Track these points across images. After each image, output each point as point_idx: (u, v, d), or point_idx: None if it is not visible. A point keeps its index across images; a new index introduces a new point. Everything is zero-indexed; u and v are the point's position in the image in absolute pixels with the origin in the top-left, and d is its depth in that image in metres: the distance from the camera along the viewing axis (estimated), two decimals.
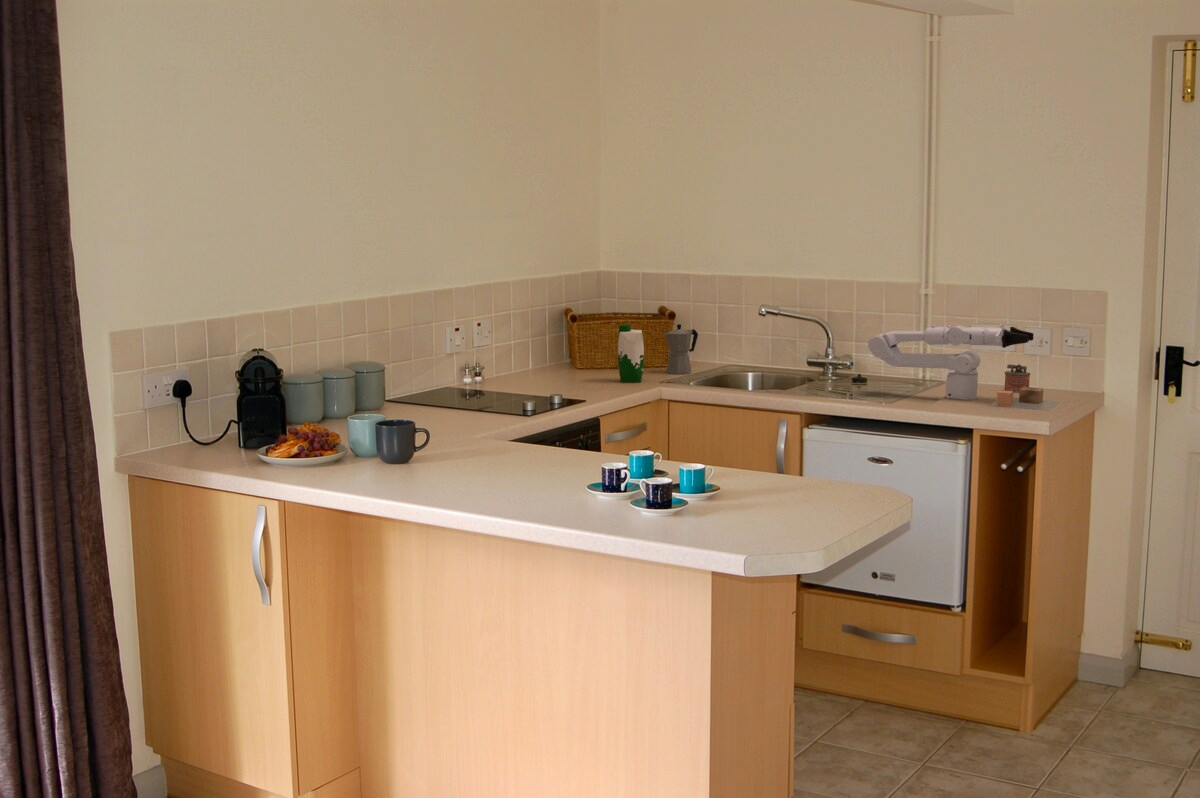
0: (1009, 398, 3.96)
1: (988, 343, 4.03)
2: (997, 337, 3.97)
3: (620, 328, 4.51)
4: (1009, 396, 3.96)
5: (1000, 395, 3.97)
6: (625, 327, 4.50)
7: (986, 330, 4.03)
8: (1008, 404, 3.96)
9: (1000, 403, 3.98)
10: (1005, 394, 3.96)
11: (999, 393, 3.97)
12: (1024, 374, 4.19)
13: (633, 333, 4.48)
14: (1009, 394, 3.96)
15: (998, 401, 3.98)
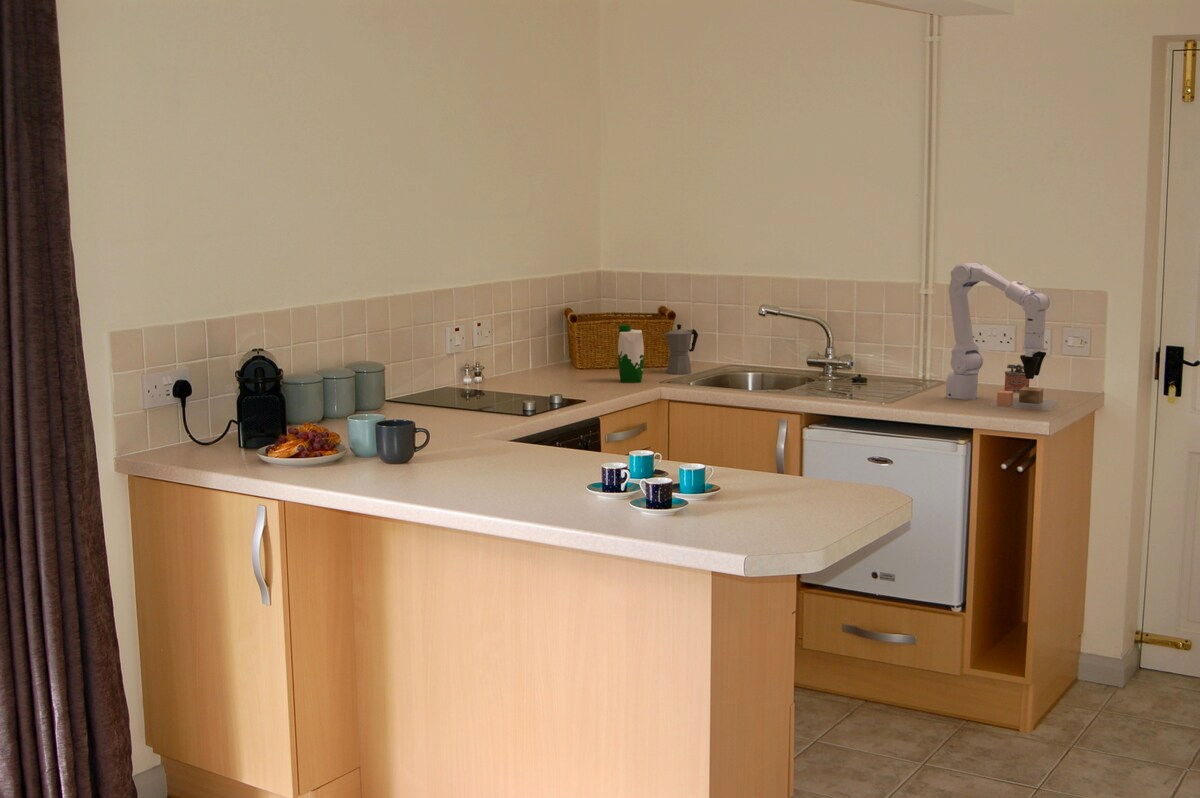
0: (1009, 398, 3.96)
1: (1026, 337, 3.90)
2: (1030, 353, 3.85)
3: (620, 328, 4.51)
4: (1009, 396, 3.96)
5: (1000, 395, 3.97)
6: (625, 327, 4.50)
7: (1040, 335, 3.88)
8: (1008, 404, 3.96)
9: (1000, 403, 3.98)
10: (1005, 394, 3.96)
11: (999, 393, 3.97)
12: (1024, 374, 4.19)
13: (633, 333, 4.48)
14: (1009, 394, 3.96)
15: (998, 401, 3.98)
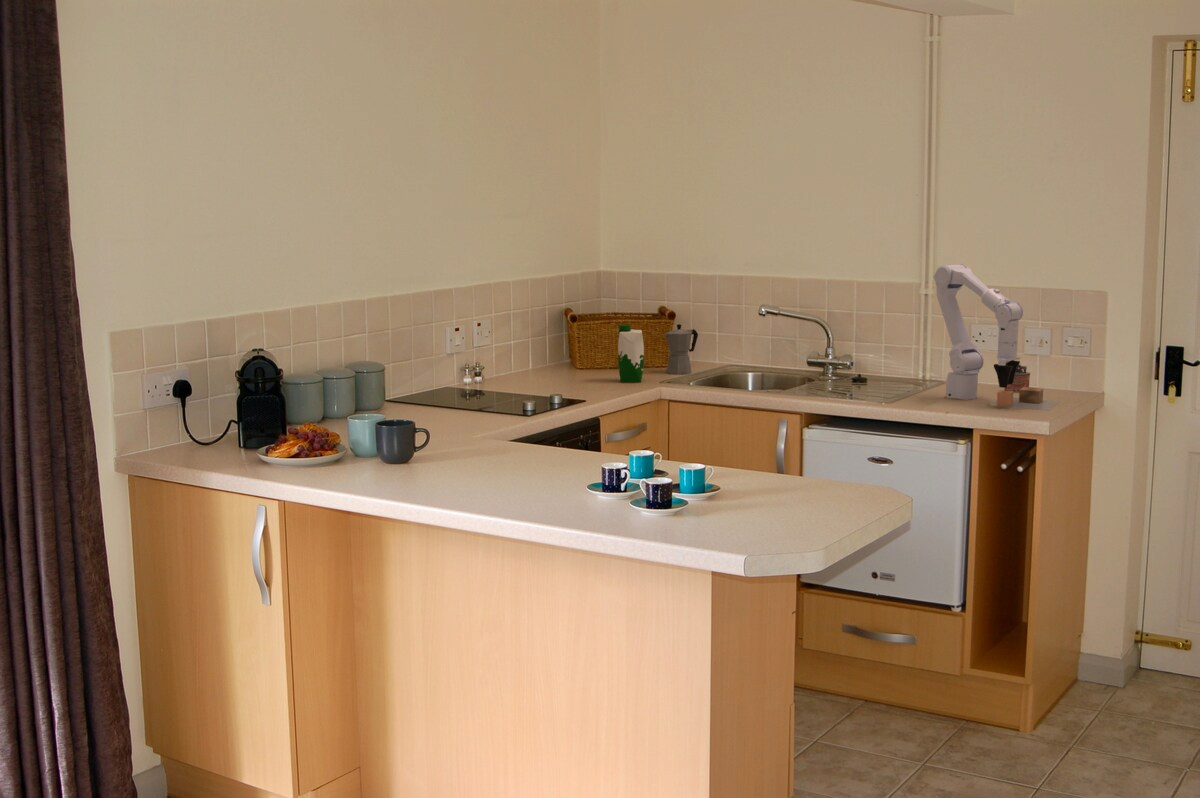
0: (1009, 398, 3.96)
1: (999, 346, 3.95)
2: (1003, 362, 3.90)
3: (620, 328, 4.51)
4: (1009, 396, 3.96)
5: (1000, 395, 3.97)
6: (625, 327, 4.50)
7: (1013, 344, 3.93)
8: (1008, 404, 3.96)
9: (1000, 403, 3.98)
10: (1005, 394, 3.96)
11: (999, 393, 3.97)
12: (1024, 374, 4.19)
13: (633, 333, 4.48)
14: (1009, 394, 3.96)
15: (998, 401, 3.98)
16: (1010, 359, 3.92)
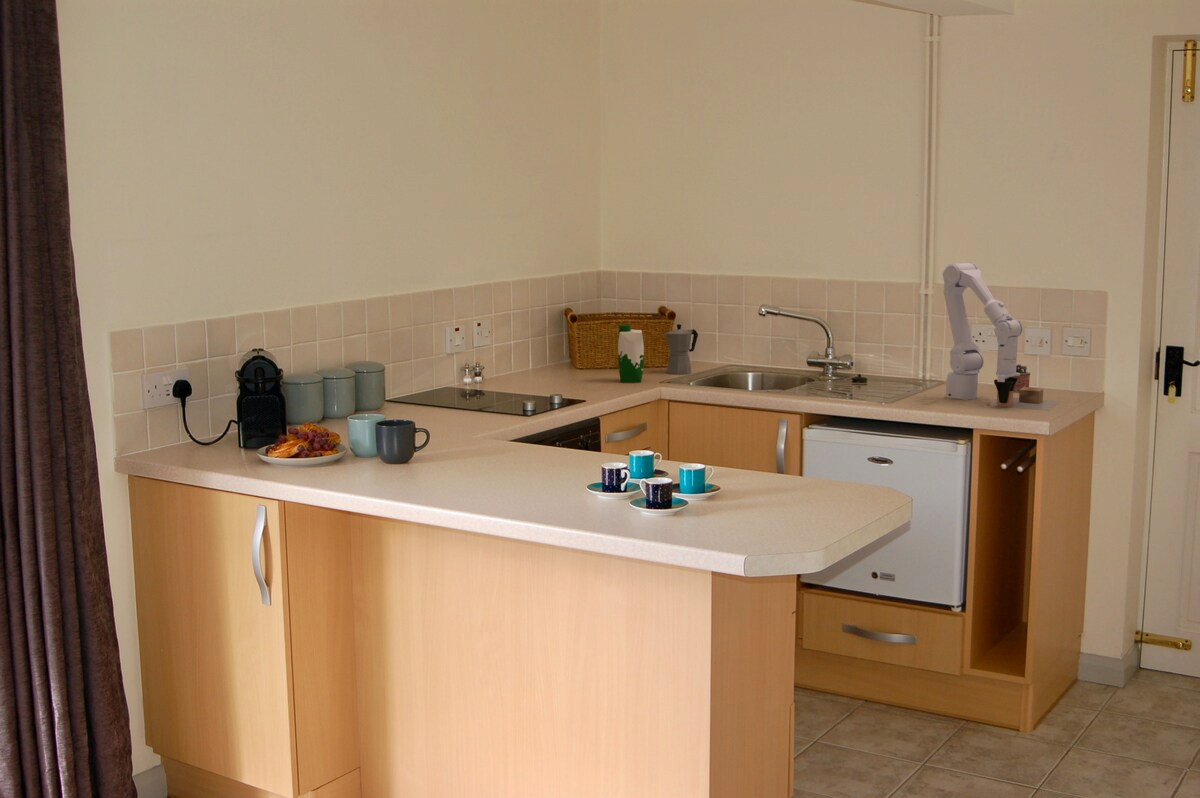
0: (1009, 398, 3.96)
1: (998, 362, 3.96)
2: (1002, 378, 3.91)
3: (620, 328, 4.51)
4: (1009, 396, 3.96)
5: None
6: (625, 327, 4.50)
7: (1012, 361, 3.94)
8: (1008, 404, 3.96)
9: (1000, 403, 3.98)
10: None
11: None
12: (1024, 374, 4.19)
13: (633, 333, 4.48)
14: (1009, 394, 3.96)
15: (998, 401, 3.98)
16: (1009, 375, 3.93)
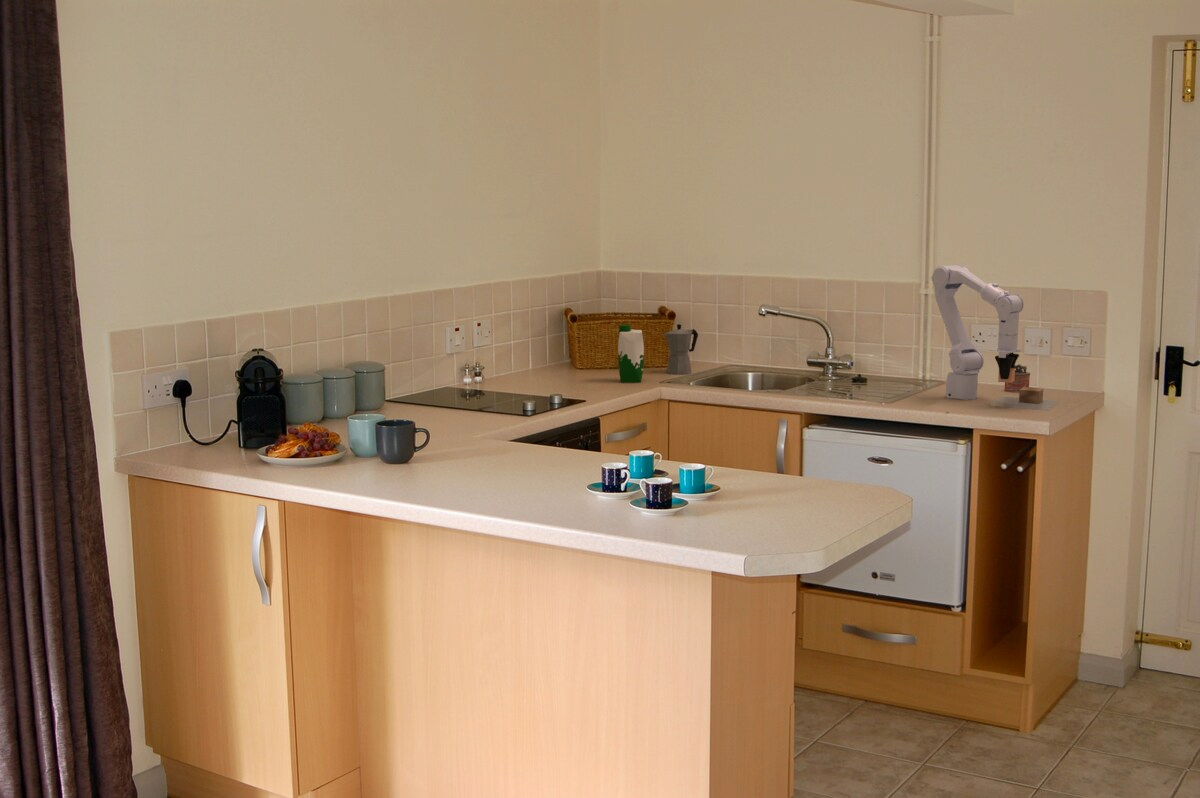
0: (1011, 375, 3.95)
1: (999, 338, 3.95)
2: (1003, 354, 3.90)
3: (620, 328, 4.51)
4: (1011, 373, 3.95)
5: None
6: (625, 327, 4.50)
7: (1013, 337, 3.93)
8: (1010, 381, 3.95)
9: (1001, 380, 3.96)
10: None
11: None
12: (1024, 374, 4.19)
13: (633, 333, 4.48)
14: (1011, 371, 3.95)
15: (999, 378, 3.97)
16: (1010, 351, 3.92)
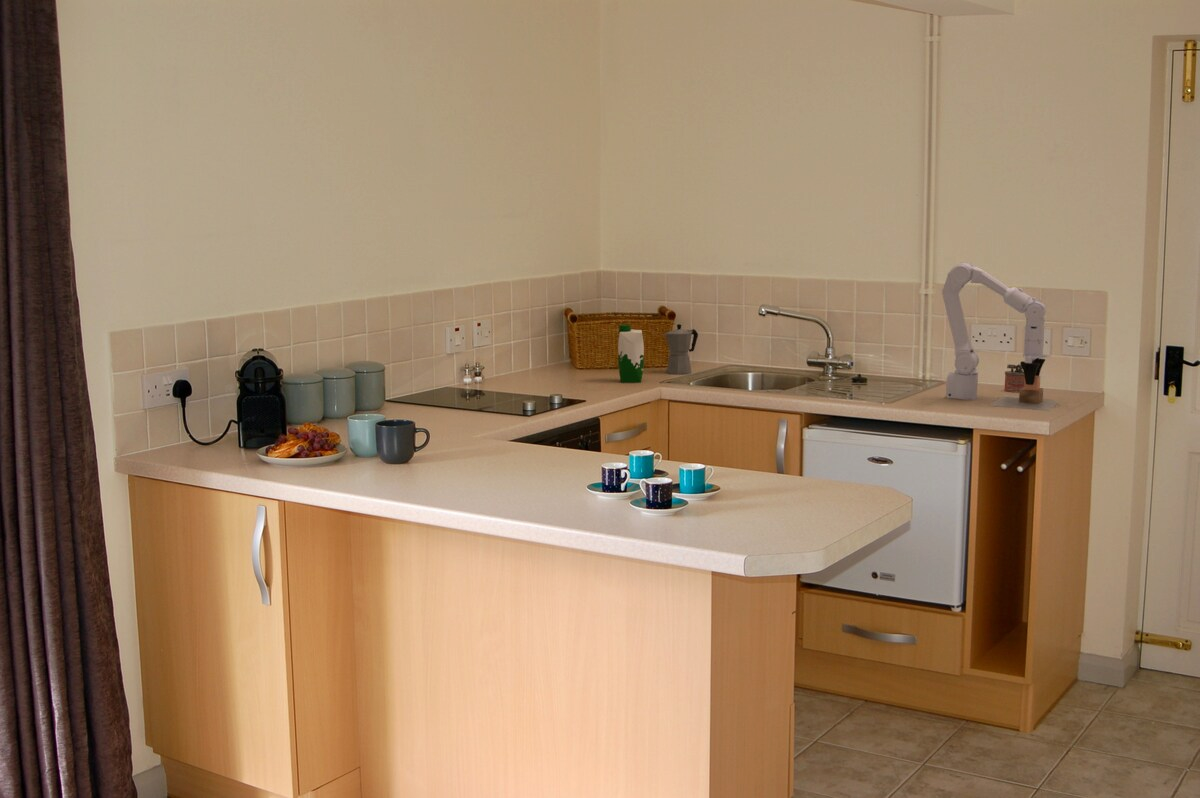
0: (1036, 382, 4.00)
1: (1025, 344, 4.00)
2: (1030, 359, 3.95)
3: (620, 328, 4.51)
4: (1036, 381, 4.00)
5: None
6: (625, 327, 4.50)
7: (1039, 342, 3.98)
8: (1035, 388, 4.00)
9: (1027, 388, 4.02)
10: None
11: None
12: None
13: (633, 333, 4.48)
14: (1036, 379, 4.00)
15: (1025, 386, 4.02)
16: (1036, 357, 3.97)
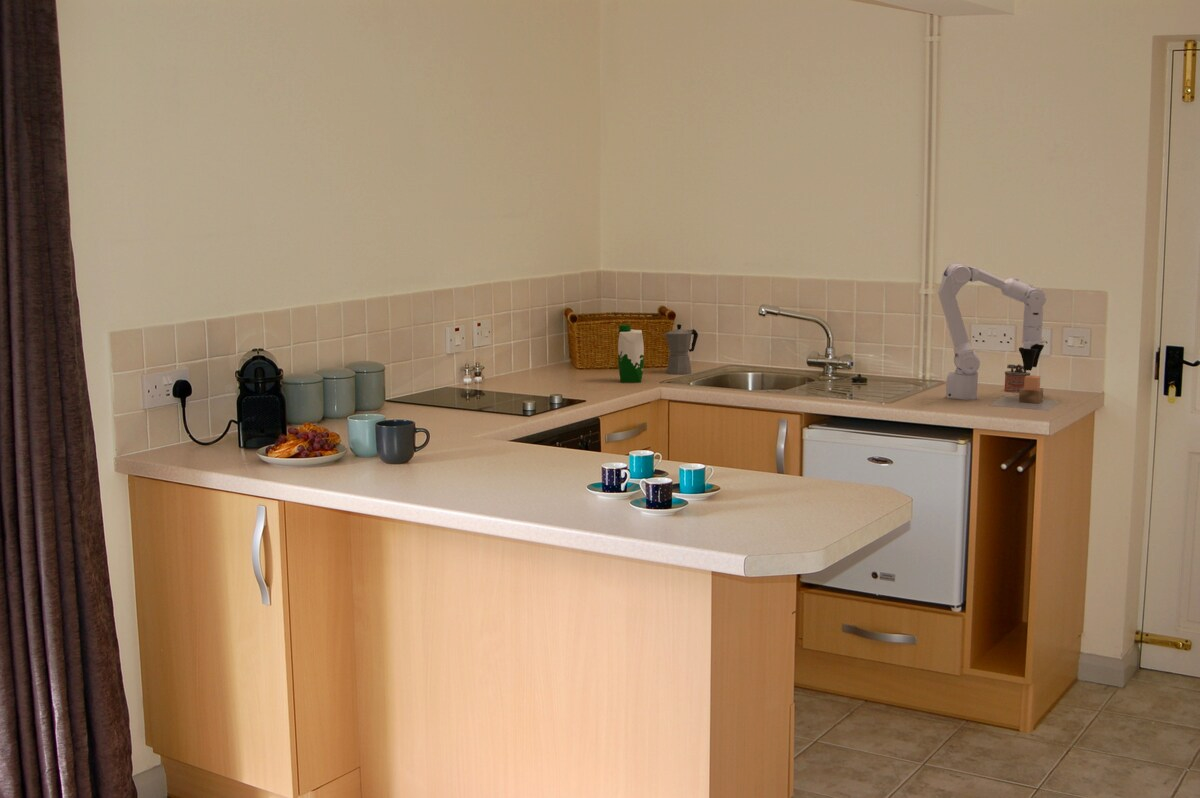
0: (1036, 382, 4.00)
1: (1024, 330, 4.06)
2: (1028, 345, 4.01)
3: (620, 328, 4.51)
4: (1036, 381, 4.00)
5: (1027, 380, 4.01)
6: (625, 327, 4.50)
7: (1038, 328, 4.04)
8: (1035, 388, 4.00)
9: (1027, 388, 4.02)
10: (1032, 379, 4.00)
11: (1026, 378, 4.01)
12: (1024, 374, 4.19)
13: (633, 333, 4.48)
14: (1036, 379, 4.00)
15: (1025, 386, 4.02)
16: (1035, 342, 4.03)
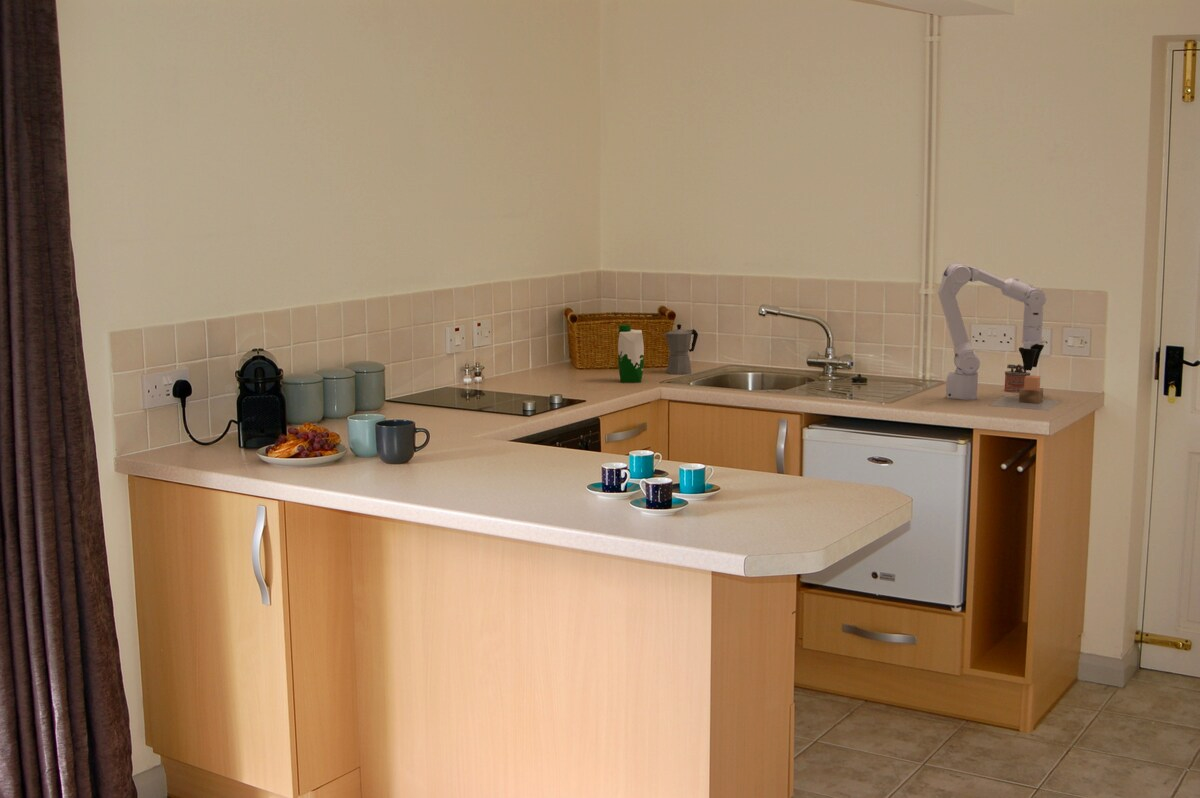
0: (1036, 382, 4.00)
1: (1024, 330, 4.06)
2: (1028, 345, 4.01)
3: (620, 328, 4.51)
4: (1036, 381, 4.00)
5: (1027, 380, 4.01)
6: (625, 327, 4.50)
7: (1038, 328, 4.04)
8: (1035, 388, 4.00)
9: (1027, 388, 4.02)
10: (1032, 379, 4.00)
11: (1026, 378, 4.01)
12: (1024, 374, 4.19)
13: (633, 333, 4.48)
14: (1036, 379, 4.00)
15: (1025, 386, 4.02)
16: (1035, 342, 4.03)
